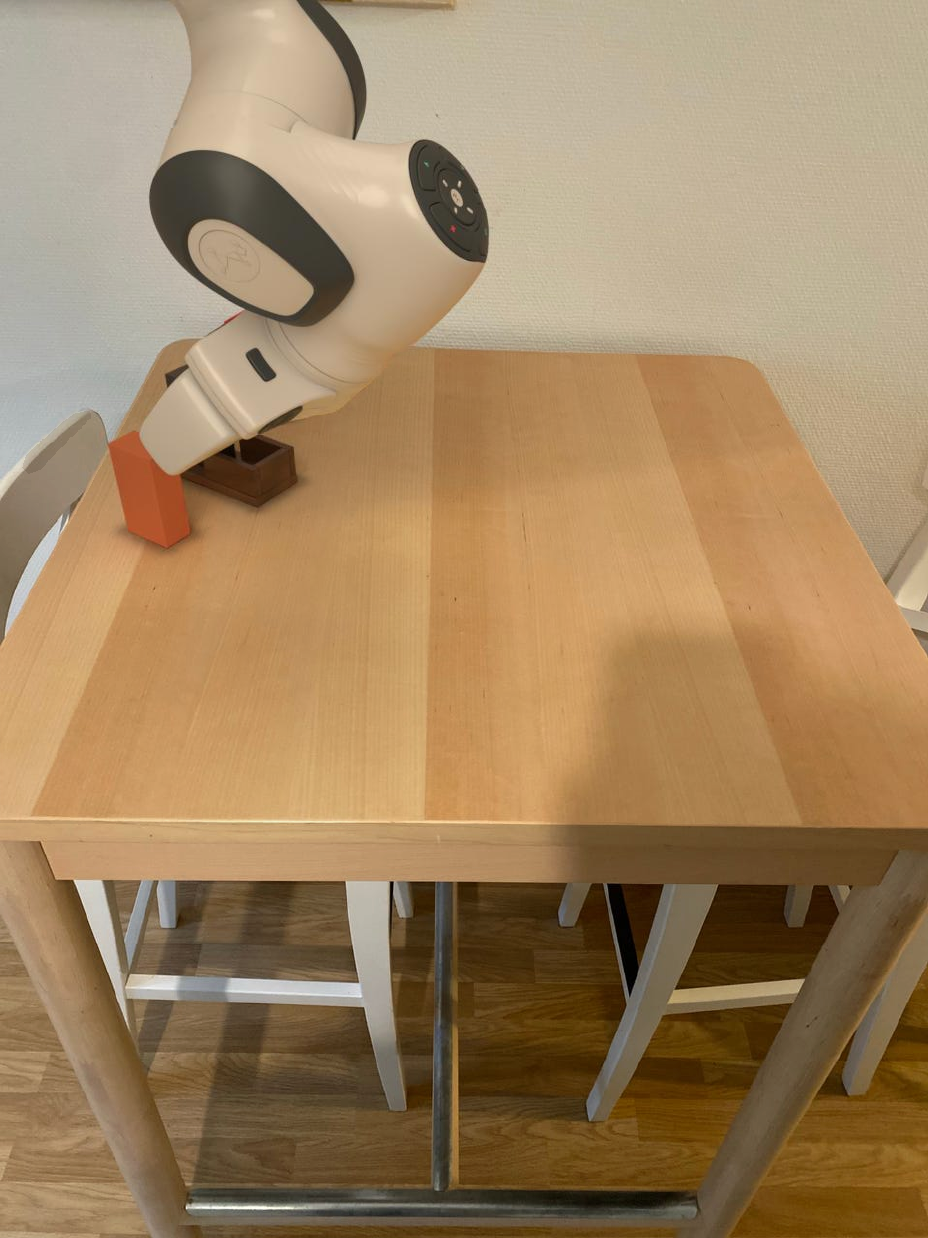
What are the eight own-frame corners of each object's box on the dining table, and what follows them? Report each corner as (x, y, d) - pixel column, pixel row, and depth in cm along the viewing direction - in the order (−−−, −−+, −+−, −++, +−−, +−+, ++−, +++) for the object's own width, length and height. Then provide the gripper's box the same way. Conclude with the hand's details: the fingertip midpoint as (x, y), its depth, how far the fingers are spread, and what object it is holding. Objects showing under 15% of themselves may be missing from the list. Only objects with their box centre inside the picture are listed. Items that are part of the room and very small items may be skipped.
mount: (257, 507, 87) (245, 412, 81) (169, 472, 92) (152, 379, 85) (297, 481, 91) (289, 388, 85) (212, 448, 96) (198, 358, 89)
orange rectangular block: (167, 548, 81) (149, 459, 76) (127, 531, 83) (107, 443, 77) (191, 533, 83) (175, 445, 78) (152, 516, 85) (134, 429, 79)
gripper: (374, 264, 68) (284, 358, 78) (171, 352, 54) (94, 452, 64) (423, 337, 69) (328, 419, 79) (236, 441, 55) (150, 525, 65)
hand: (222, 435), depth 71 cm, fingers open, 8 cm apart
